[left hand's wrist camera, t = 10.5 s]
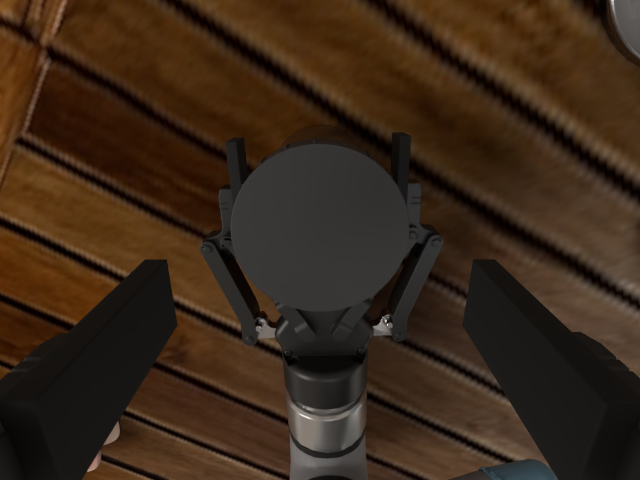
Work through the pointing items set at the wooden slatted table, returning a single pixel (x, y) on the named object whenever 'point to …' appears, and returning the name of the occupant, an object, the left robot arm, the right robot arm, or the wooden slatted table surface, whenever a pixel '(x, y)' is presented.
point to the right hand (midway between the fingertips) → (317, 136)
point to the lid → (319, 225)
